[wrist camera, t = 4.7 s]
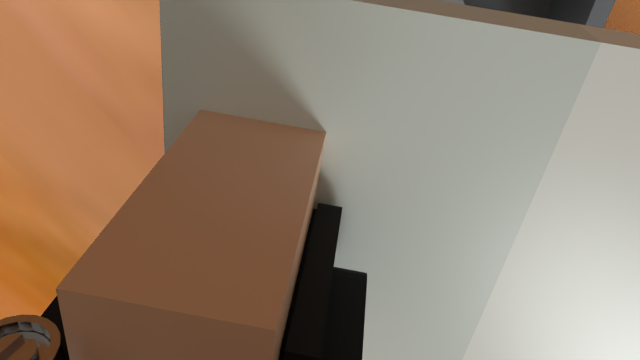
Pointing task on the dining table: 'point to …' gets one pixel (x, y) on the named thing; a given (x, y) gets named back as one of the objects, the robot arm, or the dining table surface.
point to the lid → (378, 185)
